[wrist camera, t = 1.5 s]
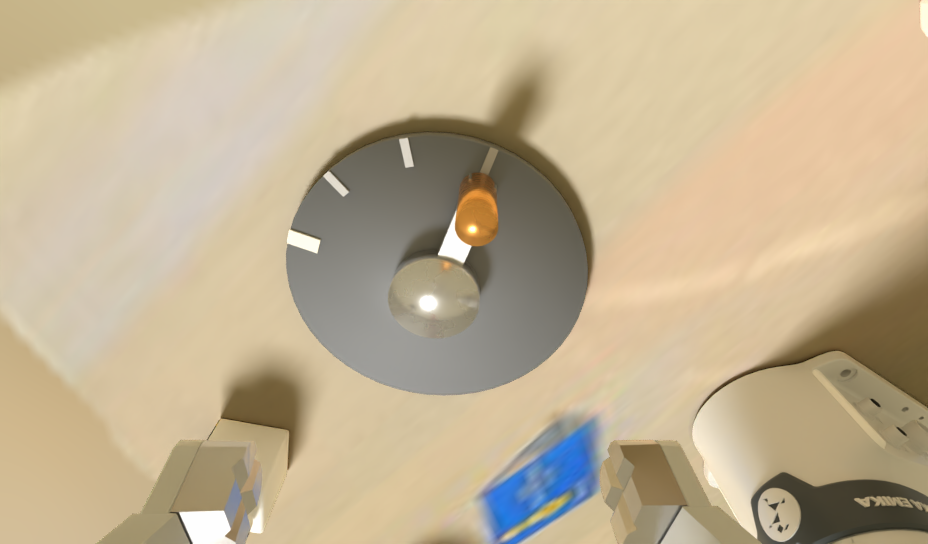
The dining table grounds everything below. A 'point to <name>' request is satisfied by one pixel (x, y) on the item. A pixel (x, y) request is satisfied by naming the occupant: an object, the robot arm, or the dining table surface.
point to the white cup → (924, 16)
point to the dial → (447, 268)
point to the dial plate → (423, 228)
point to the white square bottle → (270, 456)
